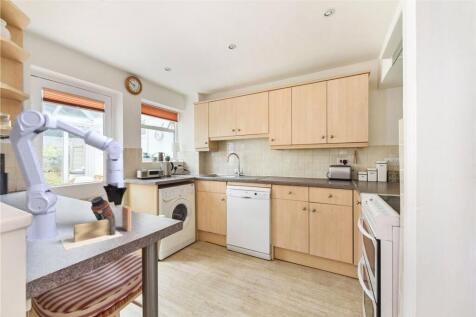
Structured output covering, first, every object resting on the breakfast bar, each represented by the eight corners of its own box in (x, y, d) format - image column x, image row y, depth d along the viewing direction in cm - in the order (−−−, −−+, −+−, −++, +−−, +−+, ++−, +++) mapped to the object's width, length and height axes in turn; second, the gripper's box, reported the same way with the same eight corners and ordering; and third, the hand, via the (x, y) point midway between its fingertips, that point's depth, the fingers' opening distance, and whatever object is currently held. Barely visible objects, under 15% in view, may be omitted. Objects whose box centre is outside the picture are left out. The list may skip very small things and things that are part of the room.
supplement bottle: (110, 225, 84) (98, 203, 79) (96, 226, 84) (84, 205, 79) (118, 215, 89) (107, 194, 84) (105, 216, 90) (93, 195, 85)
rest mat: (65, 251, 62) (65, 249, 62) (60, 240, 70) (60, 238, 70) (123, 236, 73) (123, 235, 73) (113, 228, 81) (113, 227, 81)
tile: (127, 232, 77) (127, 208, 77) (122, 228, 81) (122, 206, 81) (131, 231, 78) (131, 208, 78) (125, 228, 82) (125, 205, 82)
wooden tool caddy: (75, 243, 66) (76, 226, 66) (72, 238, 70) (72, 222, 70) (115, 234, 74) (115, 219, 74) (110, 230, 78) (110, 216, 78)
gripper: (131, 170, 81) (131, 204, 82) (119, 169, 91) (119, 199, 91) (111, 171, 76) (111, 207, 76) (101, 169, 86) (101, 202, 86)
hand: (114, 203), depth 84 cm, fingers open, 7 cm apart
